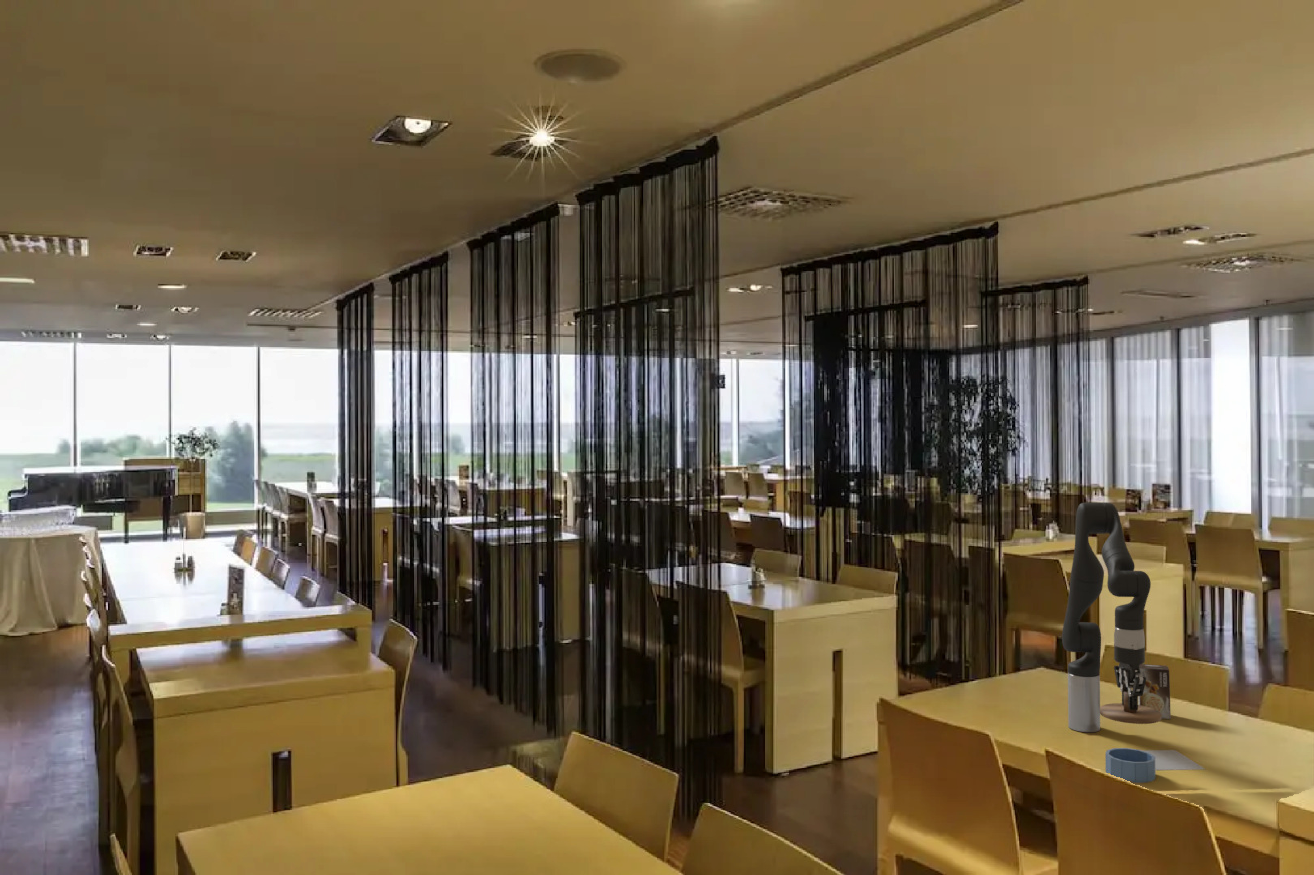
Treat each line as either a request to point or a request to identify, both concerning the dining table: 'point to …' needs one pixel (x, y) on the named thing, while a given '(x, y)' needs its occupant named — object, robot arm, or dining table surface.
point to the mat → (1172, 760)
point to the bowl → (1131, 764)
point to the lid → (1130, 713)
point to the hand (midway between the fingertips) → (1129, 707)
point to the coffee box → (1156, 689)
